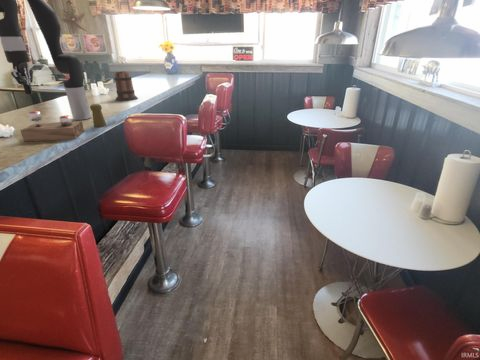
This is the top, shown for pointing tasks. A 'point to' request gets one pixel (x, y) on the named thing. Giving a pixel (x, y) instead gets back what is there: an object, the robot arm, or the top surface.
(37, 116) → the knob
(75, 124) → the console
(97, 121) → the cork
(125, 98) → the tankard
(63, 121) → the knob
